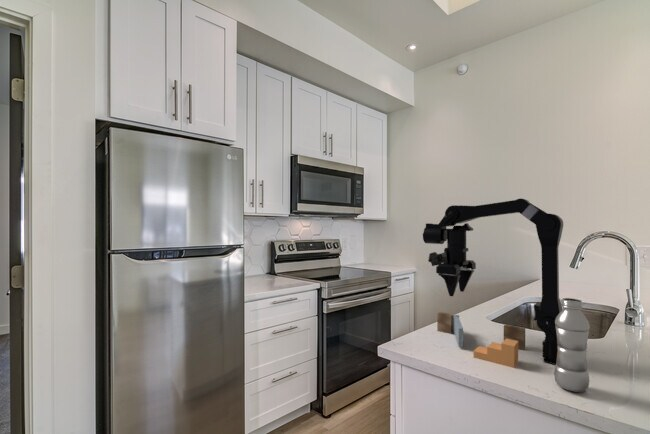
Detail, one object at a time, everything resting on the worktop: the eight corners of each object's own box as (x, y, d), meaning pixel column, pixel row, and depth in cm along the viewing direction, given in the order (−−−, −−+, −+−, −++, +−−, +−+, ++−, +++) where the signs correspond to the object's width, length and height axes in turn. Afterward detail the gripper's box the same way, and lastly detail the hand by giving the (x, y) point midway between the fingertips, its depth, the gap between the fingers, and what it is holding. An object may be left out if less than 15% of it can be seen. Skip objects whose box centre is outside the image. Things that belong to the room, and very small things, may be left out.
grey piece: (452, 332, 115) (453, 314, 115) (458, 332, 115) (458, 315, 115) (457, 348, 101) (457, 328, 101) (464, 348, 101) (464, 328, 101)
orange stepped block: (473, 358, 95) (473, 337, 95) (479, 353, 99) (479, 332, 99) (513, 368, 88) (514, 346, 88) (518, 362, 92) (518, 341, 92)
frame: (525, 348, 102) (525, 327, 102) (523, 350, 100) (523, 329, 101) (439, 329, 119) (439, 311, 119) (437, 330, 117) (437, 313, 117)
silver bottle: (547, 384, 79) (547, 297, 80) (567, 380, 82) (567, 295, 82) (575, 398, 73) (576, 304, 74) (596, 392, 76) (597, 302, 76)
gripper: (443, 242, 122) (443, 286, 122) (420, 245, 108) (420, 294, 108) (476, 243, 115) (476, 290, 115) (455, 246, 101) (455, 300, 101)
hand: (456, 293), depth 110 cm, fingers open, 9 cm apart
